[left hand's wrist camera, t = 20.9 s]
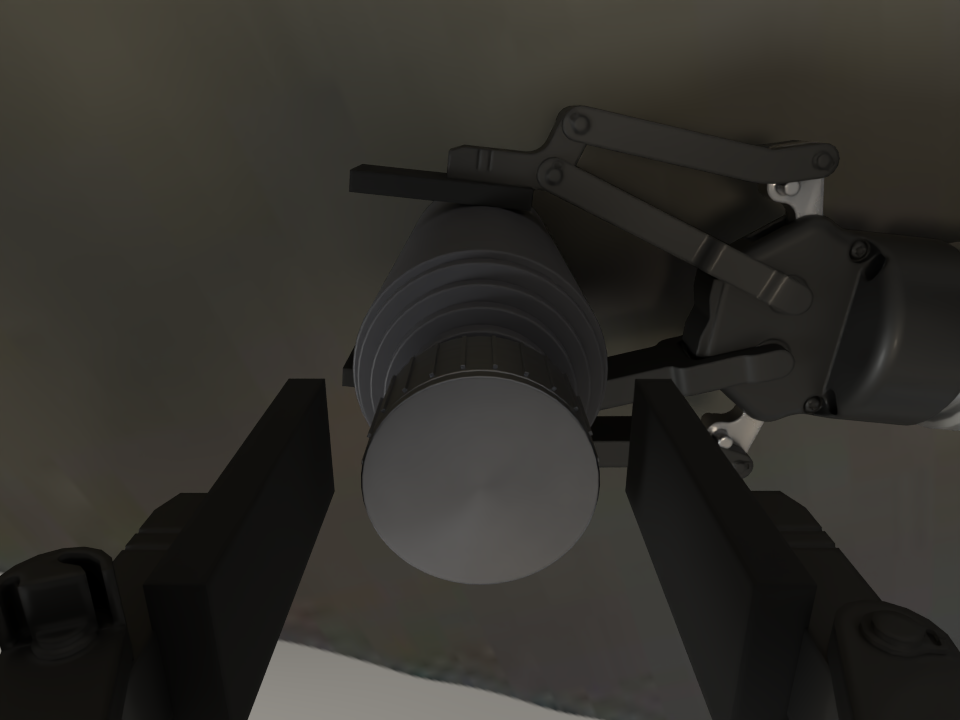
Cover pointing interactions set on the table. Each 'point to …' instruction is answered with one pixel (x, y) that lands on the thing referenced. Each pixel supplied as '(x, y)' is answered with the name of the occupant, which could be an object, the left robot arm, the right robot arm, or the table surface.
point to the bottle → (480, 300)
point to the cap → (480, 462)
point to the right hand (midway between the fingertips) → (353, 275)
